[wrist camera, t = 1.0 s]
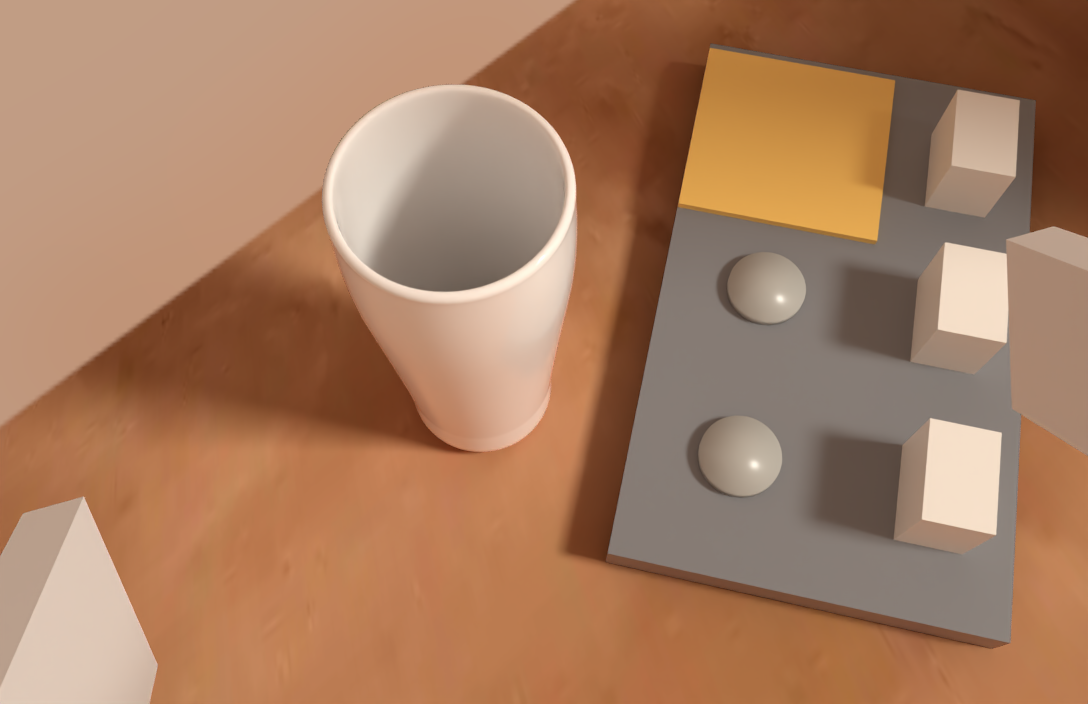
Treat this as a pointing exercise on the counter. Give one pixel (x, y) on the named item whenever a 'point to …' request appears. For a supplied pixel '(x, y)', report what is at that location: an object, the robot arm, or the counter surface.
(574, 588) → the counter surface
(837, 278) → the game board
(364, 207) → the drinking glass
